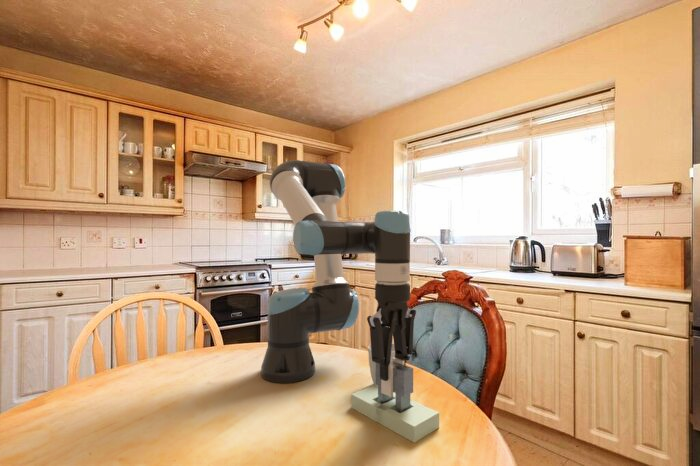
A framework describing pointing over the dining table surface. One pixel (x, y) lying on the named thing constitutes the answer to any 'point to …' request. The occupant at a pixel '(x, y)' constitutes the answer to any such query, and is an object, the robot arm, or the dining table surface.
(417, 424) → the block with rectangular hole
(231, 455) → the dining table surface
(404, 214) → the robot arm
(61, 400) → the dining table surface
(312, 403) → the dining table surface
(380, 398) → the grey foam block
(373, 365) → the cup
